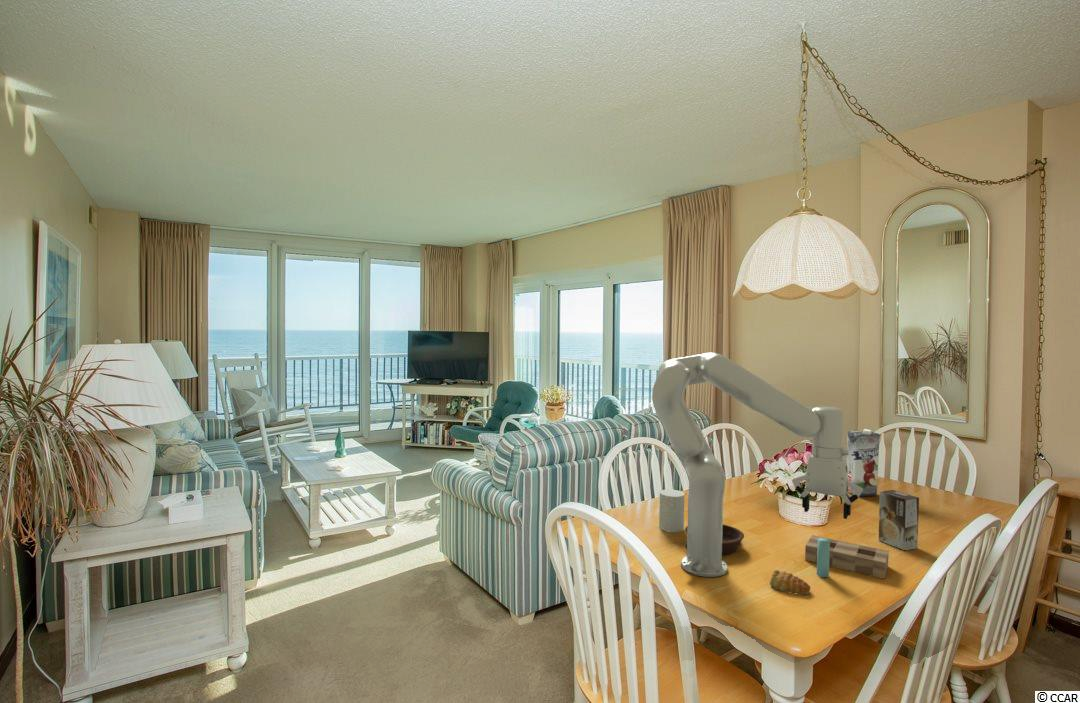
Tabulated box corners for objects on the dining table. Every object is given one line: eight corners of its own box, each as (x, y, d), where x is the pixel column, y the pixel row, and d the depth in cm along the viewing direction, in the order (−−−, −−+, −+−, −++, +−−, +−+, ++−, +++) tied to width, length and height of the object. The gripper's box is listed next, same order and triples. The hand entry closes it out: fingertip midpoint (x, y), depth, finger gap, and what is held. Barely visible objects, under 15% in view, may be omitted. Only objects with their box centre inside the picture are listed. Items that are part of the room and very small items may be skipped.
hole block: (884, 579, 152) (885, 562, 152) (805, 560, 164) (805, 545, 164) (888, 566, 160) (888, 551, 160) (811, 549, 172) (812, 535, 172)
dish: (760, 549, 172) (760, 533, 172) (712, 565, 160) (712, 548, 160) (715, 531, 187) (715, 516, 187) (667, 544, 175) (668, 529, 175)
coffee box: (918, 548, 173) (921, 497, 172) (904, 551, 171) (906, 499, 170) (891, 537, 182) (892, 489, 181) (876, 540, 180) (878, 491, 179)
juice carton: (842, 491, 233) (844, 427, 231) (864, 490, 235) (866, 426, 233) (857, 497, 224) (860, 431, 223) (880, 496, 226) (883, 430, 225)
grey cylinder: (654, 525, 191) (654, 491, 191) (672, 522, 195) (673, 488, 194) (669, 533, 184) (670, 497, 183) (688, 529, 188) (689, 494, 187)
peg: (827, 579, 152) (828, 543, 151) (815, 576, 153) (816, 540, 153) (829, 575, 154) (830, 539, 154) (817, 572, 156) (818, 537, 155)
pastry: (812, 589, 146) (813, 575, 146) (806, 599, 141) (806, 585, 141) (775, 579, 152) (775, 565, 152) (767, 588, 147) (768, 574, 146)
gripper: (865, 453, 150) (863, 516, 151) (795, 445, 160) (794, 504, 161) (861, 459, 144) (860, 524, 145) (789, 450, 154) (788, 511, 155)
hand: (825, 514), depth 153 cm, fingers open, 9 cm apart
